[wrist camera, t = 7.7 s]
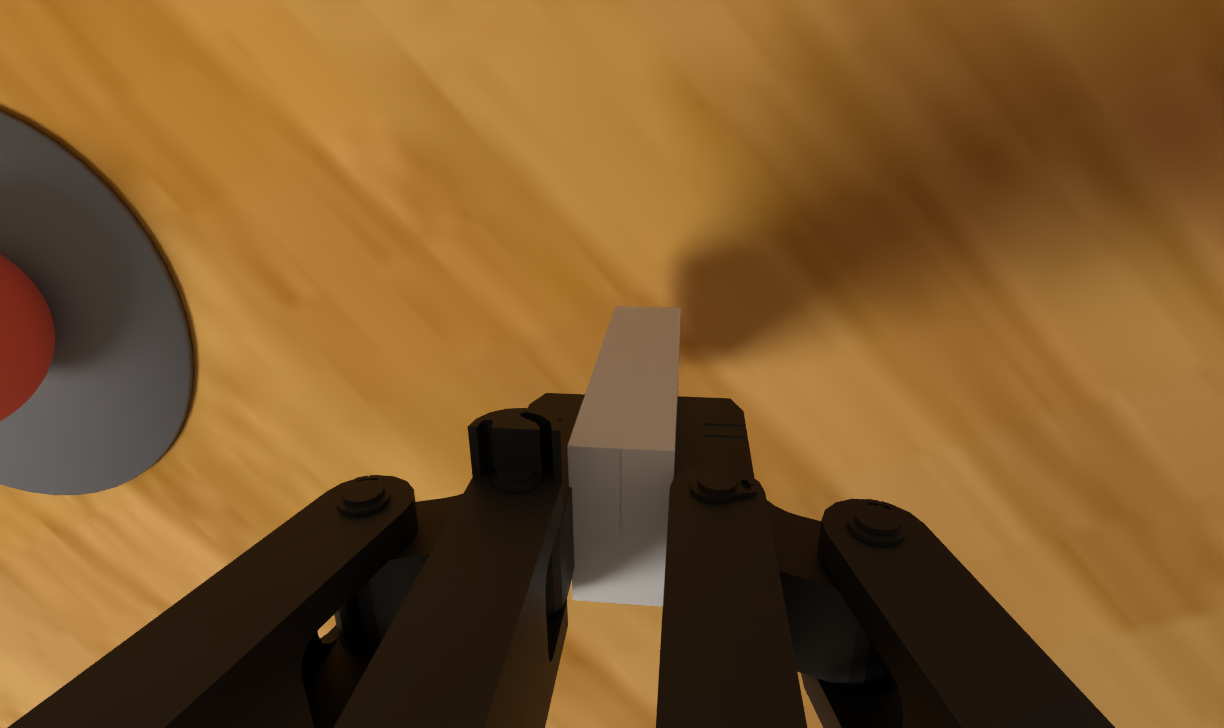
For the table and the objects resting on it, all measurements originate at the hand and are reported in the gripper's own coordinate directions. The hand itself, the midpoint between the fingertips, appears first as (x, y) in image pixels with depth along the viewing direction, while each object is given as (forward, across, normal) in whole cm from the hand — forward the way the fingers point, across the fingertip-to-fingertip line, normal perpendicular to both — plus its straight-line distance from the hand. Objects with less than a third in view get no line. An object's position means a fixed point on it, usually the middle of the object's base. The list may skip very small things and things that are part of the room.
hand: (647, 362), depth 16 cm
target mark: (+2, +19, 0) cm, 19 cm away
